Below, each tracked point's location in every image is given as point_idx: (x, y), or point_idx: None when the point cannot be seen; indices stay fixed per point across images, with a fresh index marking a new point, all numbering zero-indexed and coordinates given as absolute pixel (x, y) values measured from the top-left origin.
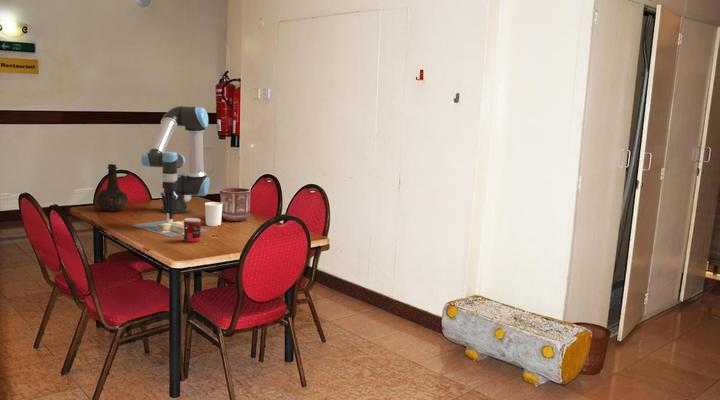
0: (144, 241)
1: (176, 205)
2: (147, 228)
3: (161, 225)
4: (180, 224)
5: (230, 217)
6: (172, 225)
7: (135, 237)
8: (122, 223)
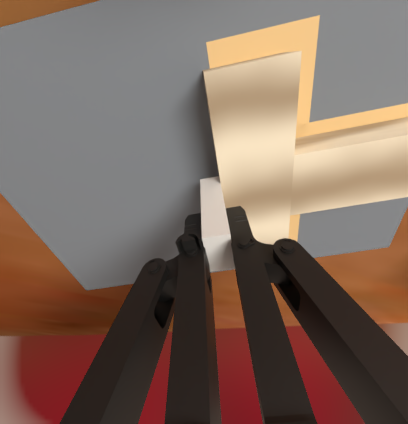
0: None
1: (365, 316)
2: None
3: None
4: (327, 168)
5: None
6: (293, 211)
7: (289, 317)
8: (36, 298)
